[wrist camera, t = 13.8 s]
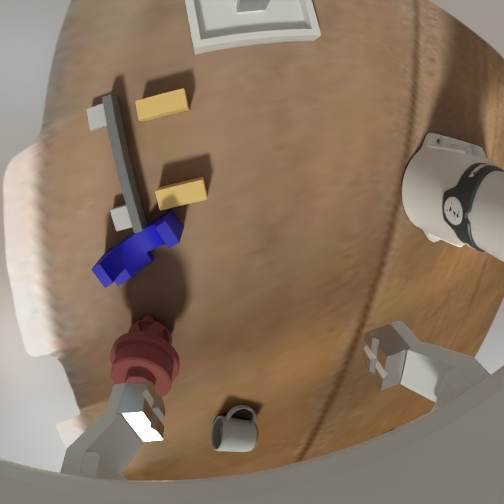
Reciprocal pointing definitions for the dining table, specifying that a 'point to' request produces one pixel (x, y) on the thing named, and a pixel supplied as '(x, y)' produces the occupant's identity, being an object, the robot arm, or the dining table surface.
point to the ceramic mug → (235, 432)
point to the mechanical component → (145, 356)
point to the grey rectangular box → (250, 5)
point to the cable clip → (137, 250)
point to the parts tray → (249, 24)
